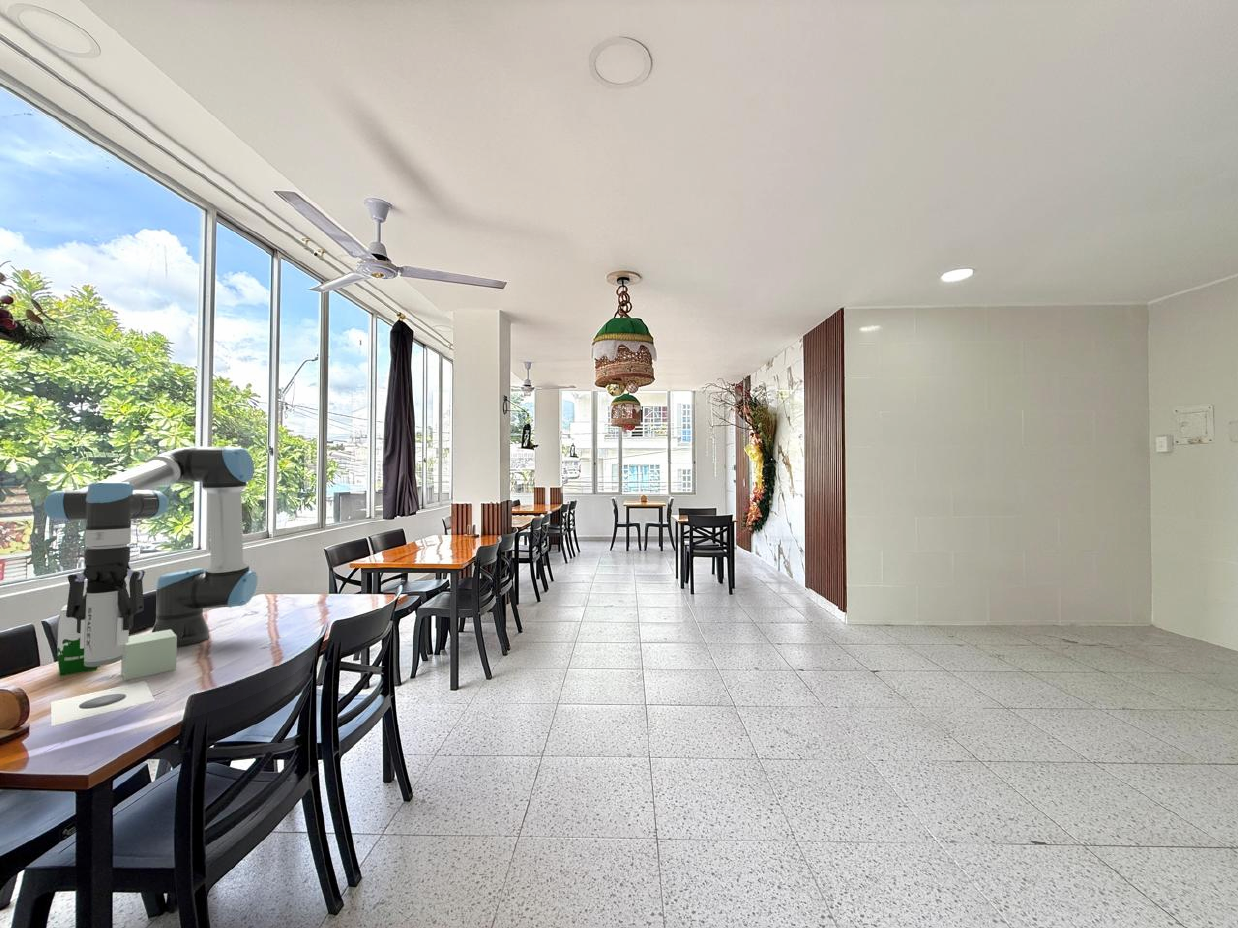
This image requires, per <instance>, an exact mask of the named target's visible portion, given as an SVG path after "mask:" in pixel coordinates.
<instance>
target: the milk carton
mask: <svg viewBox="0 0 1238 928" xmlns="http://www.w3.org/2000/svg"><path fill="white" fill-rule="evenodd" d="M84 596H85V595H83V598H84ZM82 601H83V600H82ZM66 611H67V604H66V605H64V606H63V607H62V608H61V610H60V611H59V612H60V613H59V615H58V621H57V622H58V626H57V664H58V672H59V677H62V676H67V675H74V674H80V673H83V672H84V673H85V672H91V671H96V670H97V669H98V668H99V666H95V667H86V666H84V659H85V658H84V649H85V648H82V649H80V635H81V633H77V619H75V618H72V617H70V618H68V617H66Z"/></svg>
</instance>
